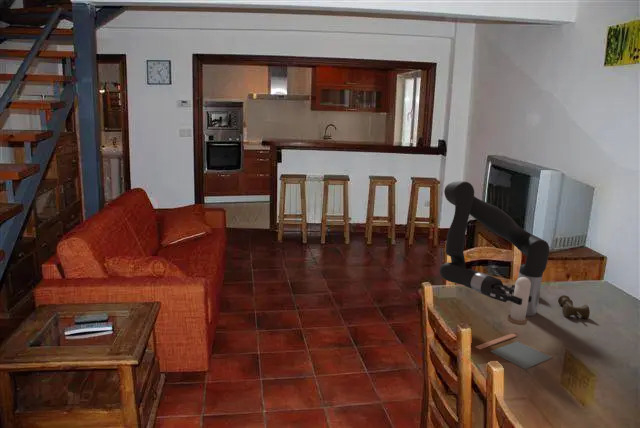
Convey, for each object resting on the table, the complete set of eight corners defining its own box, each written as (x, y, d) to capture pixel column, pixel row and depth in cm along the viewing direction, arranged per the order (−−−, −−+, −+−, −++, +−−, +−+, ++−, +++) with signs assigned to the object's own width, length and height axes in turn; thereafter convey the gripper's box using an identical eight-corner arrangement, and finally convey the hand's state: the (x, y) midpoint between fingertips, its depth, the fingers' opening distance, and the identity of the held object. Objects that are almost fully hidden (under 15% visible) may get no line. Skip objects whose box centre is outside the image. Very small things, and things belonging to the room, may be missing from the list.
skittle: (514, 316, 191) (521, 273, 187) (530, 322, 186) (537, 279, 182) (503, 319, 187) (510, 275, 184) (519, 326, 182) (526, 281, 179)
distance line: (511, 334, 202) (512, 333, 202) (516, 336, 201) (516, 335, 201) (475, 347, 190) (475, 346, 189) (480, 349, 188) (480, 348, 188)
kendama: (573, 307, 236) (593, 324, 217) (551, 305, 237) (569, 323, 217) (575, 294, 235) (595, 310, 216) (553, 293, 236) (571, 309, 216)
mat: (517, 341, 196) (517, 341, 196) (551, 358, 185) (551, 357, 185) (490, 351, 187) (490, 351, 187) (525, 369, 176) (525, 368, 176)
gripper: (475, 278, 191) (515, 294, 178) (499, 272, 200) (539, 287, 186) (472, 297, 193) (512, 314, 180) (496, 291, 201) (536, 307, 188)
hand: (526, 300), depth 183 cm, fingers closed on skittle, 5 cm apart
